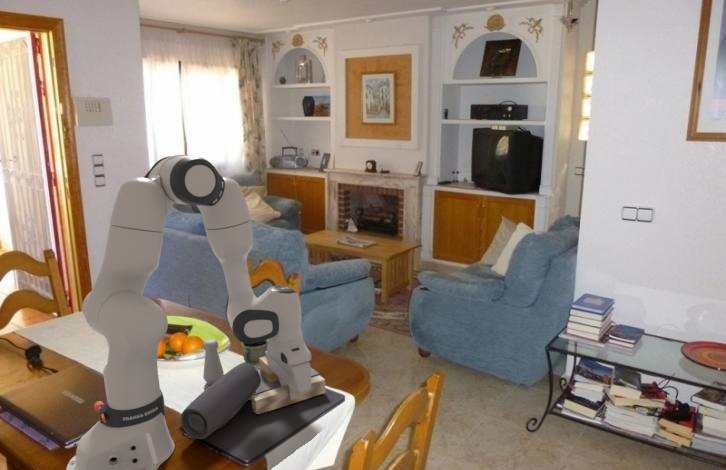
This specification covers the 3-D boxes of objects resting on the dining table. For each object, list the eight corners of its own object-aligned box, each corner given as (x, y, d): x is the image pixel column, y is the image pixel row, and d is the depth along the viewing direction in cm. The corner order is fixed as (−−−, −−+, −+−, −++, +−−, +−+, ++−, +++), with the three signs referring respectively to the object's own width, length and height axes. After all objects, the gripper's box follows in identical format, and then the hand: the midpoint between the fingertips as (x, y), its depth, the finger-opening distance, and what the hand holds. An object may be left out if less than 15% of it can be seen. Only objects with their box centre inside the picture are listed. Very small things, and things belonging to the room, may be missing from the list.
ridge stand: (248, 401, 148) (245, 373, 146) (231, 383, 158) (229, 357, 157) (319, 378, 159) (318, 352, 157) (299, 362, 170) (298, 338, 168)
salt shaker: (218, 387, 156) (214, 345, 153) (200, 386, 157) (195, 344, 154) (227, 378, 161) (223, 337, 159) (210, 377, 162) (205, 336, 160)
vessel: (256, 350, 180) (255, 332, 179) (279, 354, 177) (277, 336, 175) (233, 365, 170) (231, 346, 169) (256, 370, 166) (255, 351, 165)
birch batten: (256, 415, 139) (255, 400, 138) (252, 410, 142) (251, 396, 141) (325, 392, 150) (324, 379, 149) (320, 388, 152) (319, 375, 151)
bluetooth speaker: (236, 392, 151) (230, 359, 148) (265, 396, 147) (260, 362, 145) (182, 441, 130) (175, 403, 128) (214, 446, 127) (207, 408, 124)
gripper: (259, 336, 149) (263, 383, 152) (291, 362, 132) (294, 414, 135) (280, 331, 153) (283, 377, 155) (314, 356, 136) (317, 407, 138)
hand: (289, 394), depth 145 cm, fingers closed on birch batten, 3 cm apart
